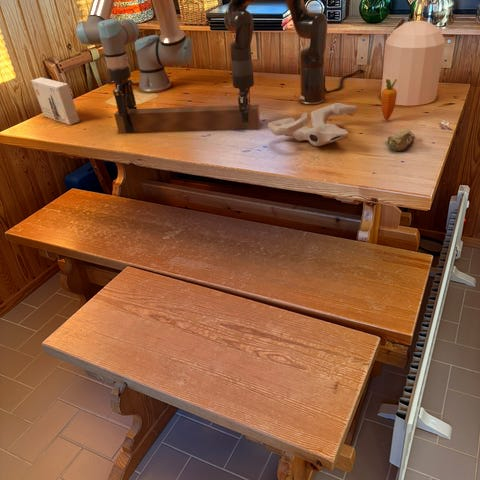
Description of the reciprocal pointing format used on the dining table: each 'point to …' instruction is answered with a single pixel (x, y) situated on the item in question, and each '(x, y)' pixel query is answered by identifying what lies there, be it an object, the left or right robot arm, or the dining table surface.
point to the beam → (189, 119)
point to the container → (414, 62)
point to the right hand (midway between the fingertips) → (246, 119)
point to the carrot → (388, 99)
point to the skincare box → (55, 100)
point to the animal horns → (314, 125)
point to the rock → (400, 140)
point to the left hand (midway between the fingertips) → (132, 129)
